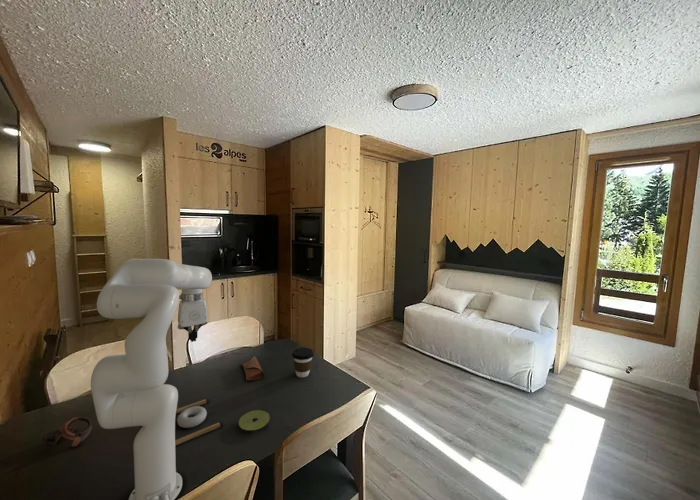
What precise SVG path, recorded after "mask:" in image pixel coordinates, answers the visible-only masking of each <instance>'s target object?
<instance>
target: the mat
mask: <svg viewBox="0 0 700 500" xmlns="http://www.w3.org/2000/svg"><path fill="white" fill-rule="evenodd" d="M270 419H271V416H270V413H268V412H267V411H265V410H261V409H256V410H251V411H248V412H246V413H244V414H243V415H242V416H241V417H240V418H239V420H238V426H239V427H240V428H241V429H242V430H245V431H257V430H259V429H262V428H263V427H266V425H268V424H269V422H270Z"/></svg>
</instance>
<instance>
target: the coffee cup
mask: <svg viewBox="0 0 700 500" xmlns="http://www.w3.org/2000/svg"><path fill="white" fill-rule="evenodd" d="M314 355H315V353H314V350H313V349H311V348H309V347H298V348H296V349H294V350H293V351H292V353H291V357H292V359H293V367H294V370H295V371H294V372H295V376H296V377H298V378H306V377H308V376H309V374H310V371H311V368H312V367H311V366H312V362H313V357H314Z"/></svg>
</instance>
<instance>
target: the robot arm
mask: <svg viewBox="0 0 700 500" xmlns="http://www.w3.org/2000/svg"><path fill="white" fill-rule="evenodd" d="M212 282H213V275H212V272H211V270H210V269H209V268H207V267H204V266H203V267H202V266H198V265H189V264H183V263H178V262H176V261H174V260H171V259H167V258H130V259H128V260H125V262H123V263H122V264H120V265H119V267H118V268H117V269H116V270H115V272H114V273H113V274H112V275H111V276H110V278H109V279H108V281H107V282H106V283H105V285H103V287H102V288H101V290H100V292H99V294H98V297H97V300H96V310H97V312H98V314H99V315H100V316H101V317H102V318H106V319H114V320H115V319H134V318H135V319H137V318H143V319H142V320H141V321H140V322H139V323H138V324H136V326H135V327H134V328H133V329H132V330H131V331H130V332H129V333H128V335H127V336H126V338H125V340H124V351H125V352H124V353H114V354H110V355H109V354H108V355H106V356H104V357H102V358H101V359H100V360H99V361H98V362H97V363H96V364H95V366H94V368H93V370H92V372H91V377H90V391H91V396H92V402H93V405H94V411H95V414H96V420H97V423H98V425H99V426H100V427H101V428H102V429H104V430H114V429H122V428H131V427H141V428H140V429H139V431H138V432H137V433H136V435H135V437H134V440H133V445H132V447H133V449H132V450H133V472H134V473H133V474H134V476H133V477H134V488H133V490H132V491H131V493H130V495H129V497H128V500H175V499H176V498H177V497H178V496H179V495H180V492H181V491H182V488H183V477H182V475H181V474H180V473H178V472H177V466H176V464H177V463H176V461H177V460H176V459H177V458H176V446H175V440H176V416H177V414H176V409H178V402H179V391H178V389H177V387H176V386H174V385H172V384H167V383H166V381H167V380H168V378H169V377H168V376H169V370H170V369H169V359H168V350H167V349H168V347H167V335H168V330H169V328H170V326H171V324H172V321H173V320H174V317H175V314H176V312H177V310H178V313H177V323H178V325H177V329H178V330H185V331H186V332H188V334H187V336H188V340H190V342H191V343H193V342H197V339H198V332H199V330H200V329H201V327H204V326H206V325H208V308H207V302H206V299H205V298H204V290H206V289H209V288H210V286H211V285H212ZM179 290H181V293H180V292H179ZM192 327H193V328H192Z"/></svg>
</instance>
